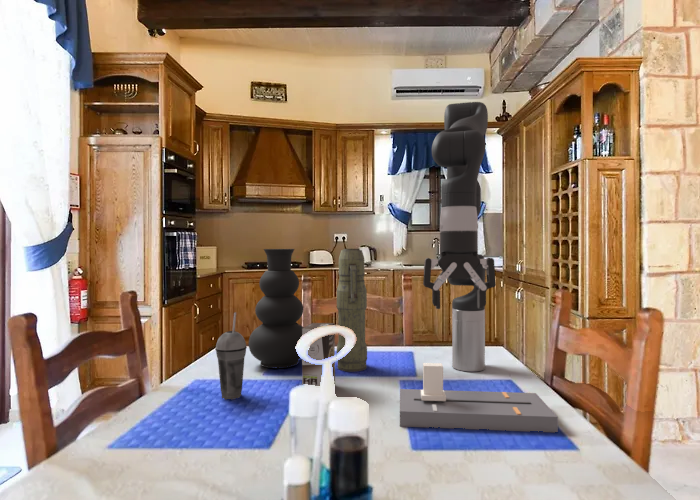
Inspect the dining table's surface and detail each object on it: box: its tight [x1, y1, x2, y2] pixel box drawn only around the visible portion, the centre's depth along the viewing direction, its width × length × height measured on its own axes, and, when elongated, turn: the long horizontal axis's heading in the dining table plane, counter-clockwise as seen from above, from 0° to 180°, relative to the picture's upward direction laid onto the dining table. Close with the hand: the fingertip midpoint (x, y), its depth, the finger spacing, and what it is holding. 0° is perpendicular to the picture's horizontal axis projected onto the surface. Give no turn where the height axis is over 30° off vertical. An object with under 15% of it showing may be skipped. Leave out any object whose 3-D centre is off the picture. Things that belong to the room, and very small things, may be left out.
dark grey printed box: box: [301, 322, 336, 386], centre depth 112 cm, size 9×6×16 cm
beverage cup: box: [215, 312, 248, 400], centre depth 108 cm, size 7×7×20 cm
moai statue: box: [336, 248, 368, 373], centre depth 132 cm, size 9×12×35 cm
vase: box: [248, 248, 305, 369], centre depth 136 cm, size 18×18×35 cm
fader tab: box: [420, 362, 446, 401], centre depth 95 cm, size 4×5×7 cm
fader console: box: [399, 388, 559, 433], centre depth 95 cm, size 14×30×3 cm, turn 84°
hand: (458, 308), depth 92 cm, fingers open, 8 cm apart
